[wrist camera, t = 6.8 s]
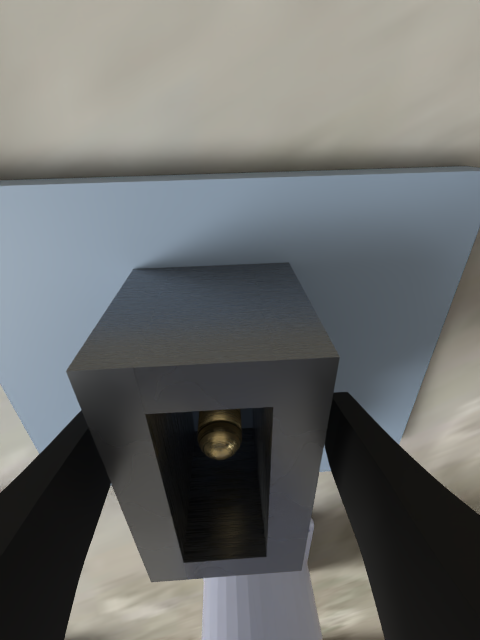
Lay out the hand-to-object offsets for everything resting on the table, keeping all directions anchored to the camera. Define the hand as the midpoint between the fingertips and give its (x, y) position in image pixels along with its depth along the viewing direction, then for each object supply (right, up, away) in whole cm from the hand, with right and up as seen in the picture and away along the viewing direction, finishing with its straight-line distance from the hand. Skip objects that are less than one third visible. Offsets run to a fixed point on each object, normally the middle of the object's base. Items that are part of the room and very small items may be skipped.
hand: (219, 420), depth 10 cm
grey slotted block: (0, +1, +2) cm, 2 cm away
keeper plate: (0, +2, +3) cm, 4 cm away
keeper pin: (0, +1, +2) cm, 2 cm away
